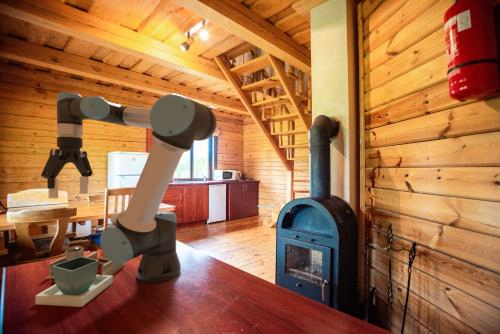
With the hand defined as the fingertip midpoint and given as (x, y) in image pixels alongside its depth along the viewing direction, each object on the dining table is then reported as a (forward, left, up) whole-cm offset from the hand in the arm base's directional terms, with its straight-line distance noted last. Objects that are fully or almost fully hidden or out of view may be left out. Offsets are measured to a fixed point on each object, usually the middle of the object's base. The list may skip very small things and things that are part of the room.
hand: (69, 195), depth 89 cm
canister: (0, -3, -29) cm, 29 cm away
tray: (-13, +12, -29) cm, 33 cm away
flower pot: (-13, +12, -28) cm, 33 cm away
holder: (-5, -3, -29) cm, 29 cm away
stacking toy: (-7, -18, -29) cm, 35 cm away
